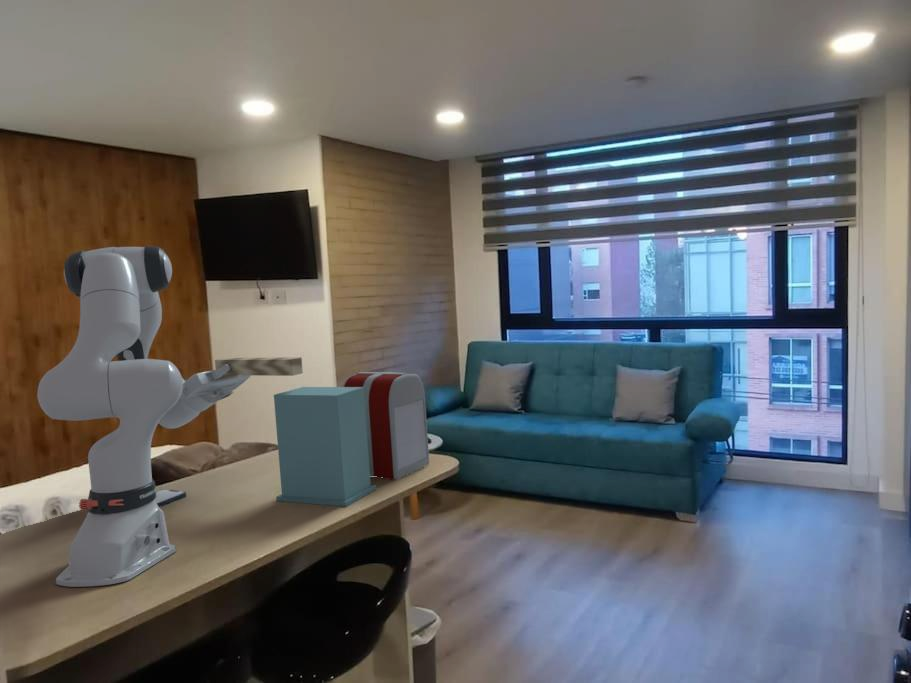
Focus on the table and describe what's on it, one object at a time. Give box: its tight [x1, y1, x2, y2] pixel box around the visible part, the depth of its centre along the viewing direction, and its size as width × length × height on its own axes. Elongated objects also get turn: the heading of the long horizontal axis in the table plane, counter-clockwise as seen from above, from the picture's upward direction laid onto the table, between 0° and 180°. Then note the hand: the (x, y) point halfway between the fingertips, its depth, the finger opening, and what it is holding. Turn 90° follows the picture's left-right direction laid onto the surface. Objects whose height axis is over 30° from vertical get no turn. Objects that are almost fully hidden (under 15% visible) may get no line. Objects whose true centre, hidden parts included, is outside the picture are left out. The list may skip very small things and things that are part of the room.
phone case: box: [155, 489, 187, 508], centre depth 176 cm, size 9×2×16 cm
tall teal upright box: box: [273, 386, 377, 507], centre depth 174 cm, size 20×14×26 cm
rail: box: [214, 356, 304, 377], centre depth 179 cm, size 24×4×4 cm, turn 67°
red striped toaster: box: [342, 371, 430, 480], centre depth 195 cm, size 16×18×27 cm
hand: (236, 364), depth 182 cm, fingers closed on rail, 4 cm apart
